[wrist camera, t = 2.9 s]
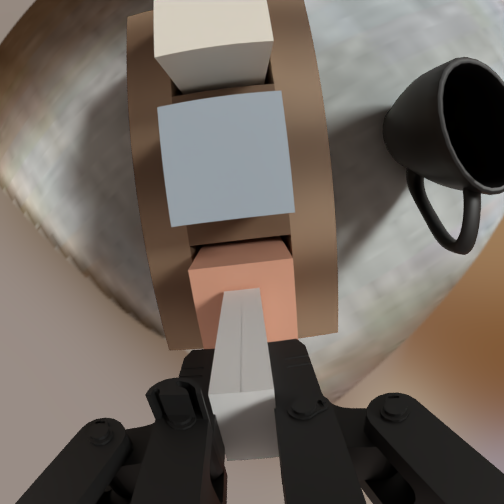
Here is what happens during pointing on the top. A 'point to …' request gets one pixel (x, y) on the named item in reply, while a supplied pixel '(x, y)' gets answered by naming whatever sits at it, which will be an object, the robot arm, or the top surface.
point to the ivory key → (213, 42)
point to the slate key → (226, 158)
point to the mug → (451, 140)
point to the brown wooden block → (284, 225)
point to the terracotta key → (245, 284)
